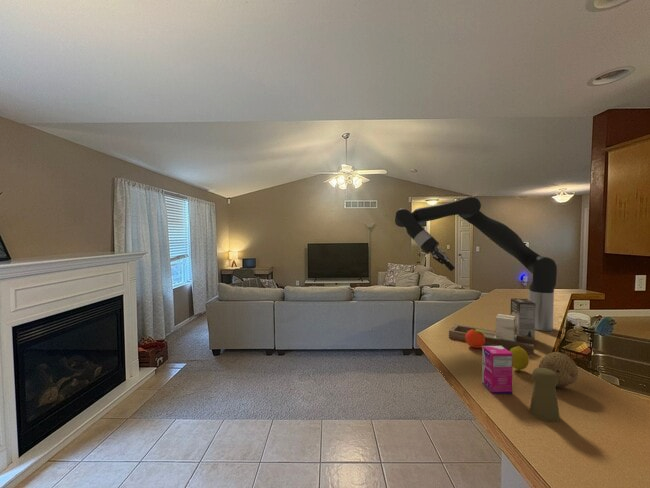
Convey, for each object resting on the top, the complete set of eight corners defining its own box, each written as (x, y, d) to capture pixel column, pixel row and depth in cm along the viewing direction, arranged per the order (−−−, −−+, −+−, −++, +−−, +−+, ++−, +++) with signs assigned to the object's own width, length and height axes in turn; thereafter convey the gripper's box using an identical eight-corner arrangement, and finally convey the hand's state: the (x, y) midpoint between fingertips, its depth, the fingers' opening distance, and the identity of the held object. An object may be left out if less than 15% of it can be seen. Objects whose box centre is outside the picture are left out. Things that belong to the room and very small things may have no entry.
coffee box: (509, 334, 132) (509, 297, 132) (525, 335, 131) (526, 298, 130) (518, 341, 123) (518, 302, 123) (535, 342, 122) (536, 303, 122)
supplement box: (481, 383, 89) (481, 345, 89) (501, 383, 89) (502, 345, 89) (491, 394, 83) (492, 353, 83) (513, 394, 83) (514, 353, 83)
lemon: (525, 368, 99) (525, 344, 99) (530, 375, 94) (531, 350, 94) (506, 365, 101) (506, 342, 101) (510, 373, 96) (510, 348, 96)
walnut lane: (455, 331, 137) (455, 324, 137) (534, 345, 120) (534, 337, 120) (448, 337, 128) (448, 330, 128) (533, 354, 111) (533, 345, 111)
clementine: (490, 347, 117) (490, 329, 117) (485, 353, 112) (485, 334, 112) (468, 342, 123) (468, 325, 122) (462, 347, 117) (462, 329, 117)
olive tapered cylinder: (523, 407, 77) (524, 365, 76) (545, 406, 77) (546, 364, 77) (542, 422, 71) (543, 376, 70) (566, 421, 71) (567, 375, 71)
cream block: (497, 333, 125) (497, 313, 125) (514, 336, 121) (515, 316, 121) (495, 337, 120) (495, 317, 120) (513, 340, 116) (513, 319, 116)
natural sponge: (580, 399, 81) (581, 362, 80) (539, 390, 85) (540, 355, 85) (575, 384, 88) (575, 351, 88) (537, 377, 93) (538, 345, 93)
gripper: (427, 236, 136) (456, 265, 129) (436, 236, 146) (463, 262, 140) (415, 247, 139) (443, 276, 132) (424, 246, 150) (450, 273, 143)
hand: (453, 269), depth 136 cm, fingers closed
